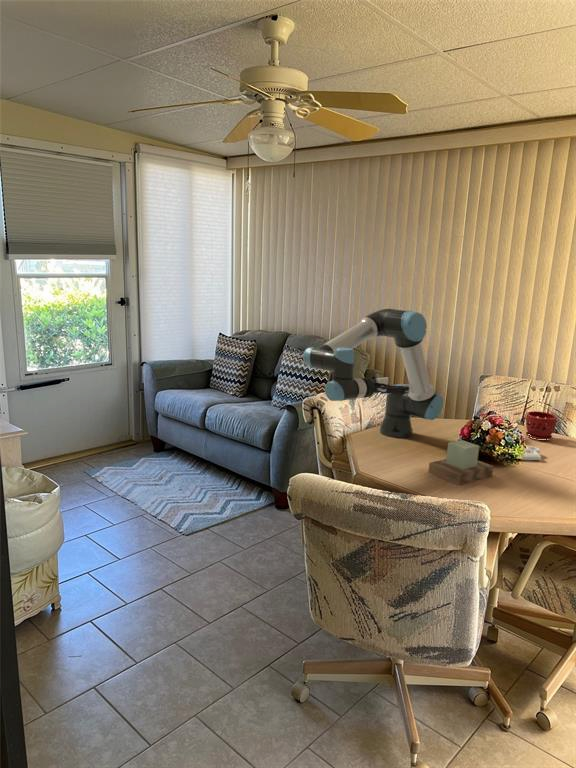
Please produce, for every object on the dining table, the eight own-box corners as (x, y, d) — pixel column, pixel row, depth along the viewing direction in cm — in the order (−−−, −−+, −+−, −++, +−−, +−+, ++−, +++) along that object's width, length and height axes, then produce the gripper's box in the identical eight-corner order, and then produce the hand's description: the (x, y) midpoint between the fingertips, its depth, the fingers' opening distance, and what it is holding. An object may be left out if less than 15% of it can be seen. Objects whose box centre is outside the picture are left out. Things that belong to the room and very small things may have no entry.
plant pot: (520, 433, 278) (523, 409, 276) (548, 436, 277) (552, 412, 274) (527, 441, 266) (531, 416, 263) (557, 444, 264) (560, 419, 262)
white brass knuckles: (506, 461, 236) (492, 450, 250) (548, 463, 237) (531, 451, 251) (507, 453, 235) (492, 442, 249) (549, 455, 236) (532, 444, 251)
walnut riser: (461, 464, 228) (463, 455, 227) (492, 475, 216) (493, 465, 216) (428, 472, 216) (429, 462, 215) (458, 485, 205) (459, 474, 204)
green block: (459, 459, 221) (462, 439, 219) (476, 466, 214) (479, 445, 213) (445, 462, 216) (448, 442, 215) (463, 469, 210) (465, 448, 208)
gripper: (338, 391, 227) (377, 386, 240) (383, 405, 208) (422, 399, 220) (340, 372, 226) (378, 369, 238) (385, 385, 206) (424, 380, 219)
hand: (399, 383), depth 229 cm, fingers open, 13 cm apart
